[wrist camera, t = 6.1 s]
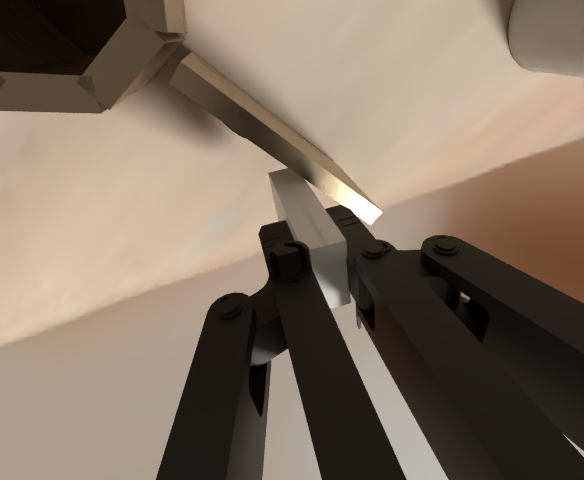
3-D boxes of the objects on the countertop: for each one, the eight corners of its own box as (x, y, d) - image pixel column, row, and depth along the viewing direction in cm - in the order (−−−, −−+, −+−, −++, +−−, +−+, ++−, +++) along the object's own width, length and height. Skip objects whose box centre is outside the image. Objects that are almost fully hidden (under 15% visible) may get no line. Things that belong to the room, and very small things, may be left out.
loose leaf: (181, 72, 16) (164, 91, 10) (192, 51, 15) (180, 61, 10) (326, 178, 20) (366, 229, 15) (337, 164, 20) (382, 212, 15)
